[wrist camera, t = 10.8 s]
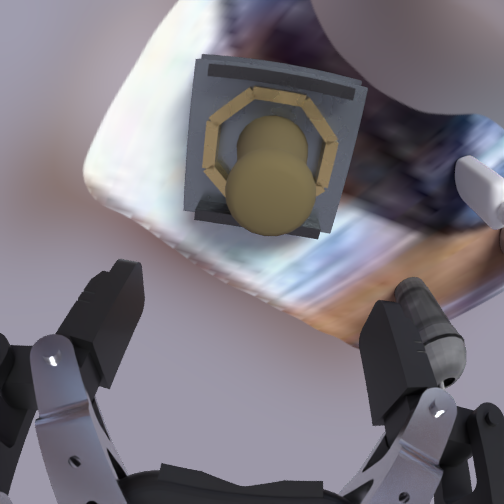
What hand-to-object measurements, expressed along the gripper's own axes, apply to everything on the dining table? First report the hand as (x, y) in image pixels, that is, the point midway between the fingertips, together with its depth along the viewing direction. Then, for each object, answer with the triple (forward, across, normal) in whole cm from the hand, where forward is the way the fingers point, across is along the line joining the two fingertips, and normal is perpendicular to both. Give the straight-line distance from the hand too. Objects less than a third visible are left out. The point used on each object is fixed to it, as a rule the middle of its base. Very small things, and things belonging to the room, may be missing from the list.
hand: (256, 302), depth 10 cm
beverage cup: (+24, -22, +16) cm, 36 cm away
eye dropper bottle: (+24, -23, -1) cm, 33 cm away
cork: (+19, 0, 0) cm, 19 cm away
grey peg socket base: (+24, 0, 0) cm, 24 cm away
